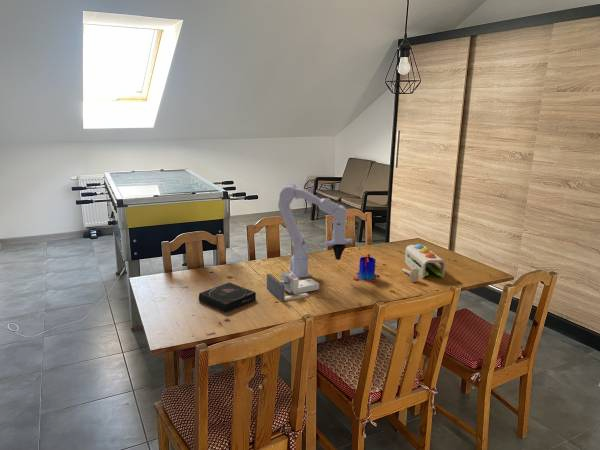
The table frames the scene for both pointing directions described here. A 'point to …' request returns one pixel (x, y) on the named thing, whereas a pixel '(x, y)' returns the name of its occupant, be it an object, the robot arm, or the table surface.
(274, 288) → the grey plate with rod
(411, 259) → the pound a ball toy
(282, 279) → the gauge plate
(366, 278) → the fantasy tower
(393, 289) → the table surface
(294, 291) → the bracket
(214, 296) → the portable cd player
